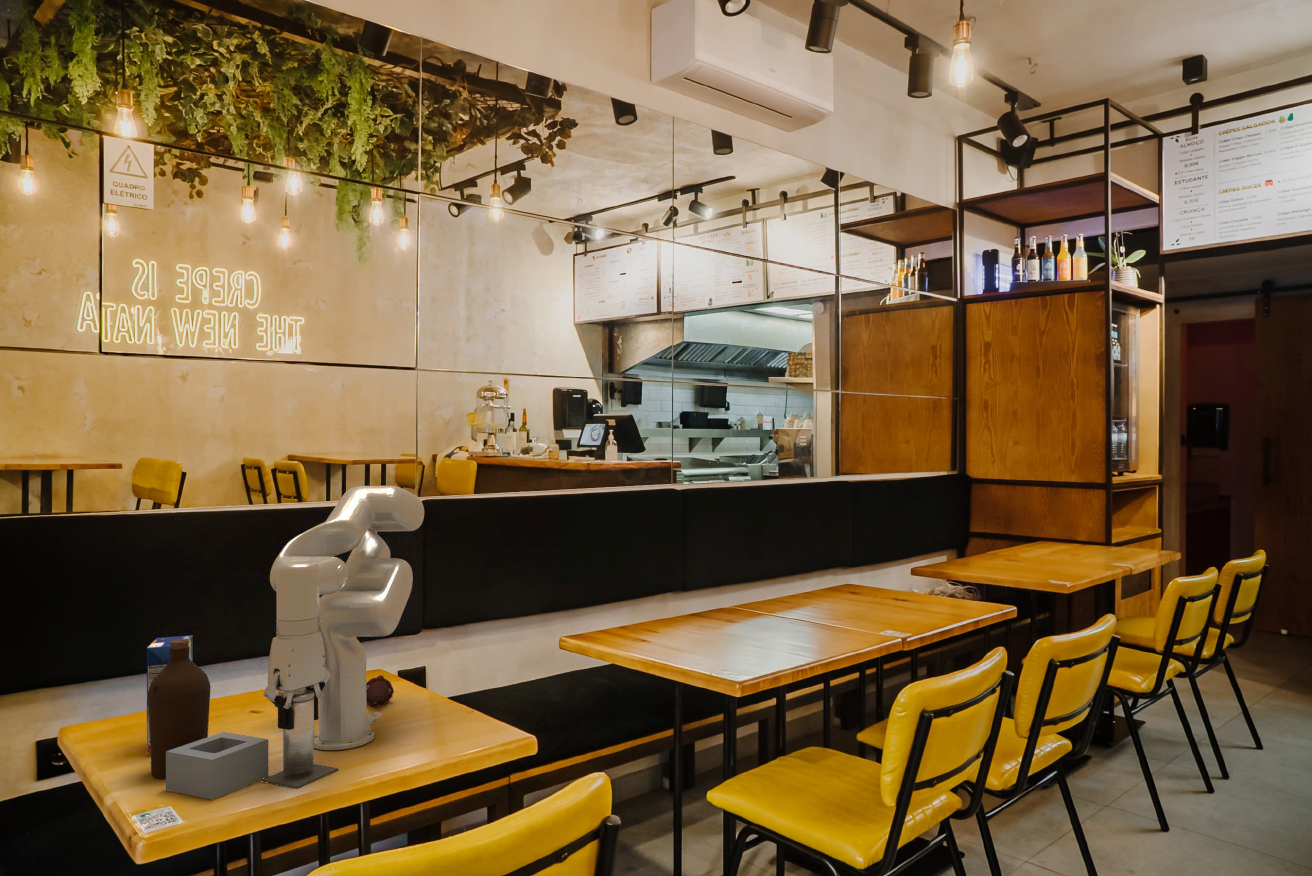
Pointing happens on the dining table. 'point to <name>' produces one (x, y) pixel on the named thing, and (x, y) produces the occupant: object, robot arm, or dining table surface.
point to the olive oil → (177, 706)
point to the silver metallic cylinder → (300, 734)
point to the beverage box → (160, 665)
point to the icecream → (378, 691)
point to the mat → (300, 777)
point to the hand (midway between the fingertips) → (298, 722)
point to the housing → (216, 765)
